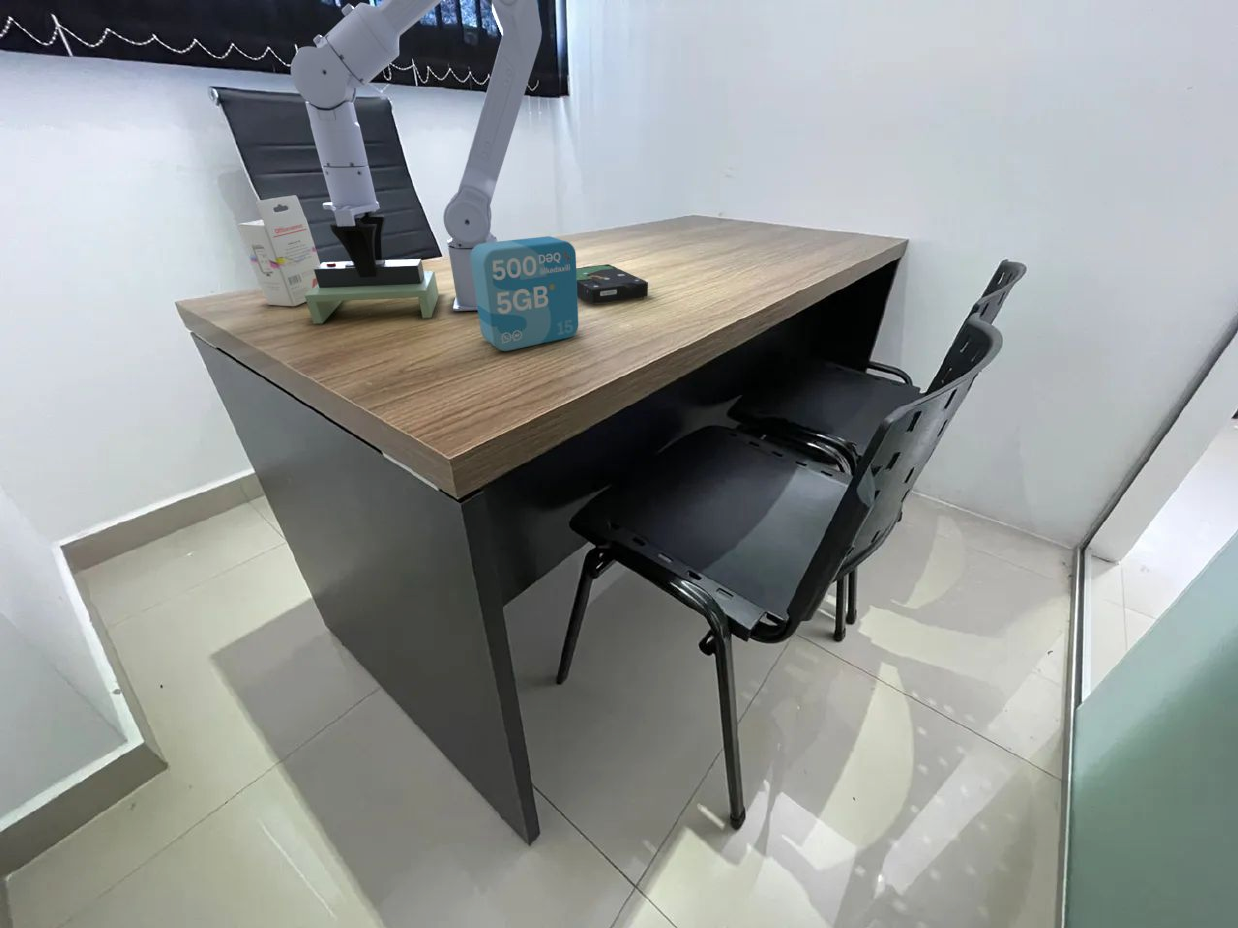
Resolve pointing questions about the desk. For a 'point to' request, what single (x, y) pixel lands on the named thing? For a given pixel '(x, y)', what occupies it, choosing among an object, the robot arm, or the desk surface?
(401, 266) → the remote
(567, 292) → the data package
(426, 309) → the shelf
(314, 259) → the ink cartridge box
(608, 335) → the desk surface
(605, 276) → the disk drive
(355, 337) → the desk surface
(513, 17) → the robot arm
